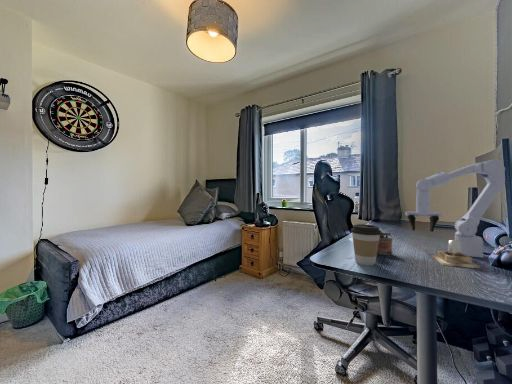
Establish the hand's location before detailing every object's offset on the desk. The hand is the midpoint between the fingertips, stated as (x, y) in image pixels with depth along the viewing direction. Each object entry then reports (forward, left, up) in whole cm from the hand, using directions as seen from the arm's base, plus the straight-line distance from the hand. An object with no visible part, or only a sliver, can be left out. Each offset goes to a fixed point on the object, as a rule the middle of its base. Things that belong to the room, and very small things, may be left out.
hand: (422, 230), depth 118 cm
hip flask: (+20, +15, -10) cm, 27 cm away
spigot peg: (-6, +19, -9) cm, 22 cm away
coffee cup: (+29, +33, -10) cm, 45 cm away
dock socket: (-6, +19, -9) cm, 22 cm away
